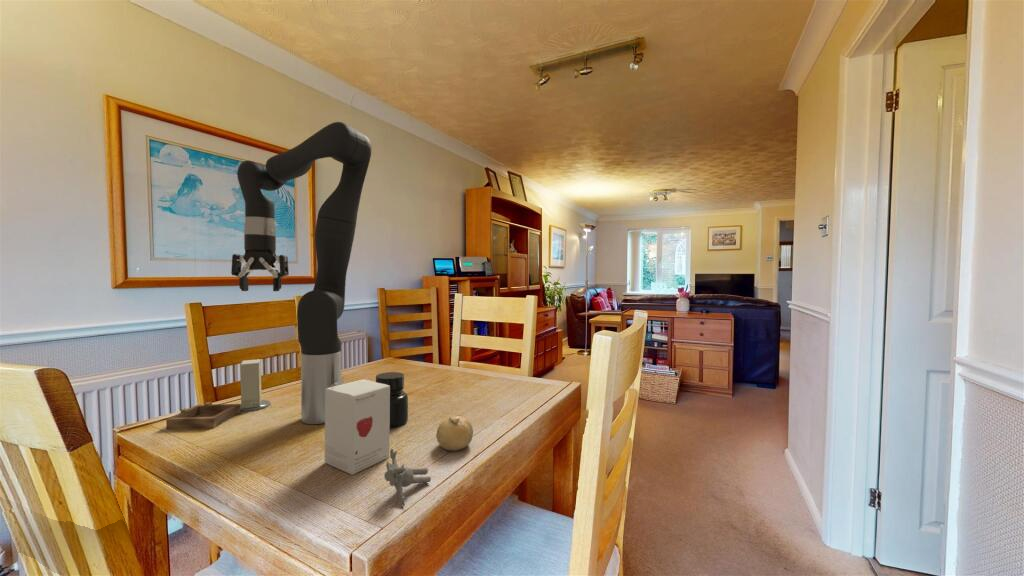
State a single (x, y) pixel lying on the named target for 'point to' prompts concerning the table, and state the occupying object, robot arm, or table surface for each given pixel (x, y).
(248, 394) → the skincare box
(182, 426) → the brown square shallow tray
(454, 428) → the onion
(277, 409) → the table surface
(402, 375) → the ink bottle
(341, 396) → the supplement box
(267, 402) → the coaster
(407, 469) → the grey toy figurine
